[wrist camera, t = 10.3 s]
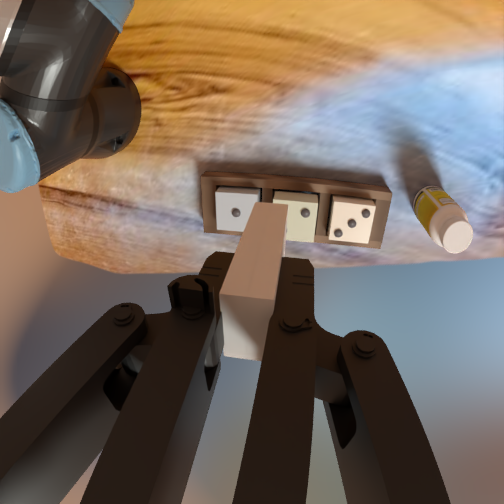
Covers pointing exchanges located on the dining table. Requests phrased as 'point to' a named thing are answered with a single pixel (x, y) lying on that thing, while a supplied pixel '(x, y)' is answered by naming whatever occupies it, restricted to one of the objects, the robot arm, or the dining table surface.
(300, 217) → the tile two
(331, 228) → the tile three
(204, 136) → the dining table surface
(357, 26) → the dining table surface
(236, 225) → the tile one
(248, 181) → the tile tray
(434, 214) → the pill bottle
